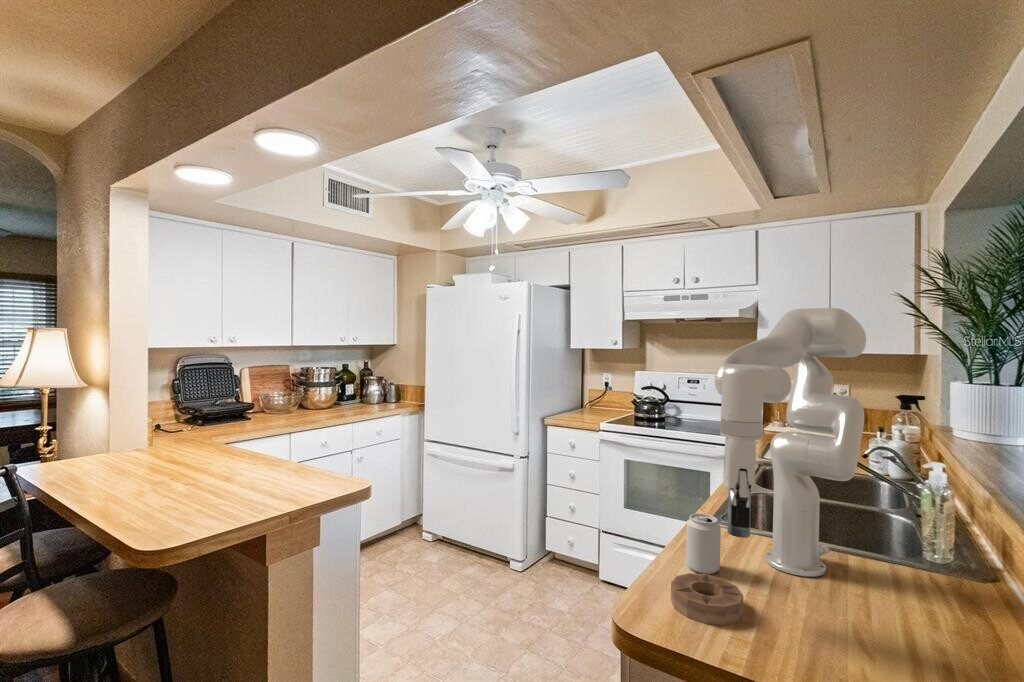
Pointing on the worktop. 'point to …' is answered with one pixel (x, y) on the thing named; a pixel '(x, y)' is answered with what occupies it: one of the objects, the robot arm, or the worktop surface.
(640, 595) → the worktop surface
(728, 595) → the bead
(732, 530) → the peg
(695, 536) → the can
